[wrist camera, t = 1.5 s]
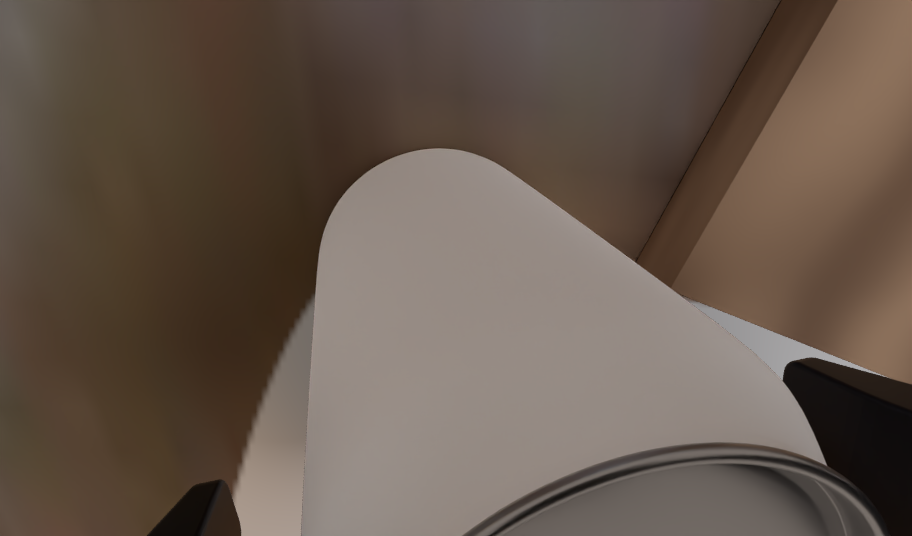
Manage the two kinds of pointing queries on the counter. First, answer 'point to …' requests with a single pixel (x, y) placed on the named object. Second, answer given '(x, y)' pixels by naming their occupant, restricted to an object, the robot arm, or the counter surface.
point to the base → (807, 188)
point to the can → (535, 381)
